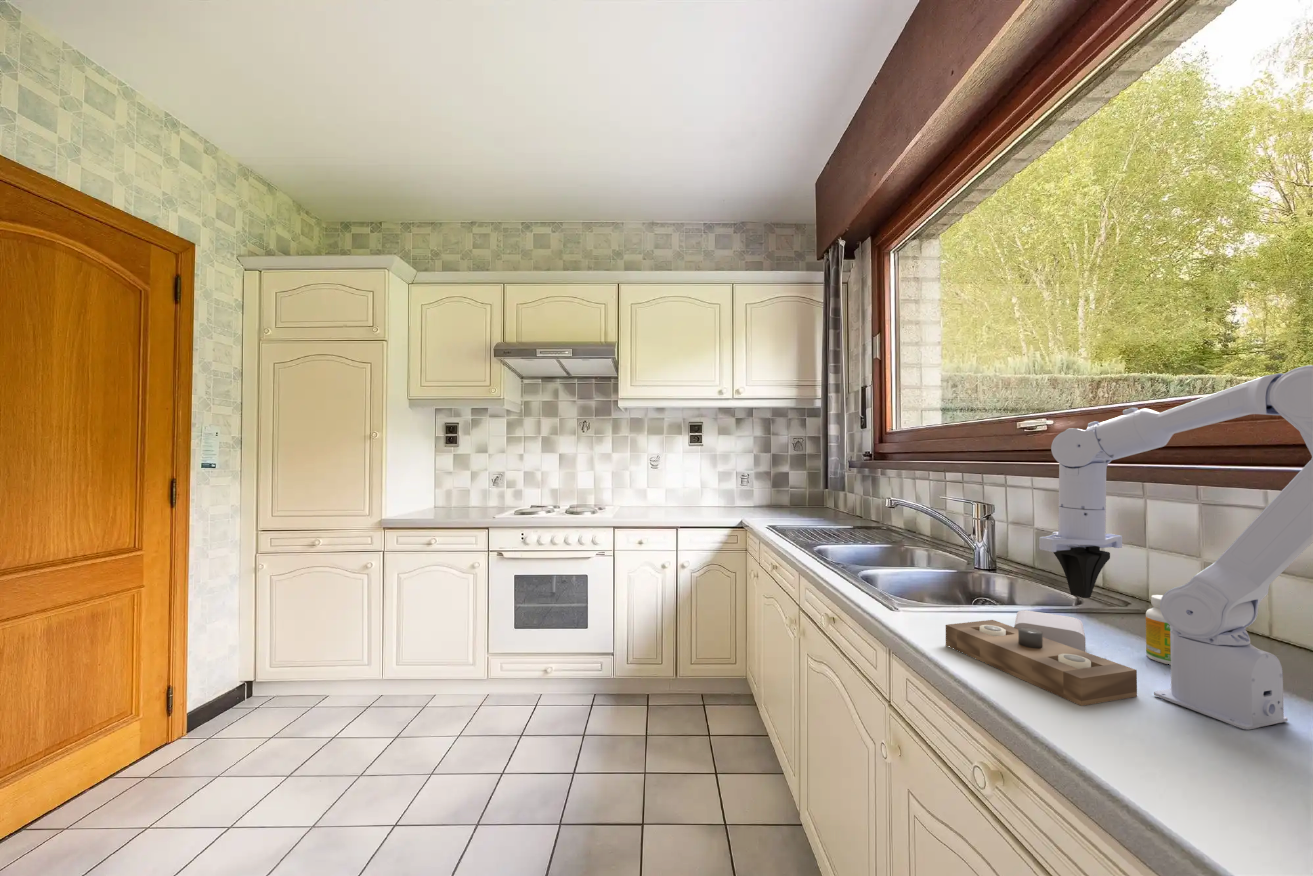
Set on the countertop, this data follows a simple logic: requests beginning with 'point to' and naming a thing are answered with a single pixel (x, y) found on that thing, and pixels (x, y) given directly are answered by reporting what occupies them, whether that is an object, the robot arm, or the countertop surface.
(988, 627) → the far knob
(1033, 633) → the pot knob
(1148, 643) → the supplement bottle
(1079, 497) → the robot arm
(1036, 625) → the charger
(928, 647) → the countertop surface
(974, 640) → the knob mount
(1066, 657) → the near knob
